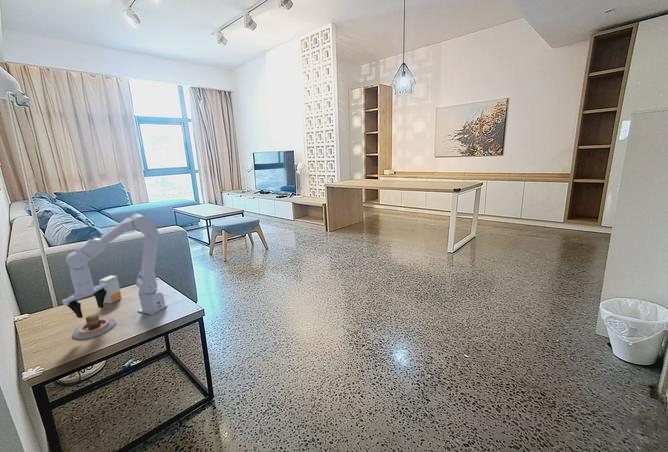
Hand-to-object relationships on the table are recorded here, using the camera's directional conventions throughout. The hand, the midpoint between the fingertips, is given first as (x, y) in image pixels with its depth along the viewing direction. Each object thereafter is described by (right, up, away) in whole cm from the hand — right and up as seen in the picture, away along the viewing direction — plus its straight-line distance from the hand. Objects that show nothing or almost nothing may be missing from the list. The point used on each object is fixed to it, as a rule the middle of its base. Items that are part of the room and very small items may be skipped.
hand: (90, 312), depth 116 cm
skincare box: (-10, -2, +25) cm, 27 cm away
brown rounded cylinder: (0, -7, +2) cm, 7 cm away
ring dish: (0, -7, +2) cm, 8 cm away
